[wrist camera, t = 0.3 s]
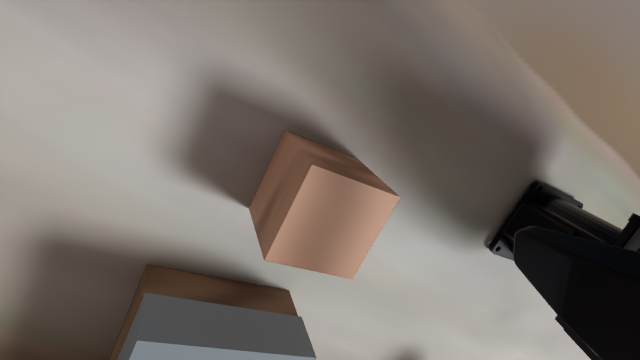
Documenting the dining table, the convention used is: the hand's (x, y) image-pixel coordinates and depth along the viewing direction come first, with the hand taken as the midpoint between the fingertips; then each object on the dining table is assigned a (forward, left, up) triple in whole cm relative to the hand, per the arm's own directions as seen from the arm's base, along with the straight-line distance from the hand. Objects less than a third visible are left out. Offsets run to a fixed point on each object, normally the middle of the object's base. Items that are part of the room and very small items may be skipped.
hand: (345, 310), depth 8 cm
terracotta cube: (-4, +2, -13) cm, 13 cm away
